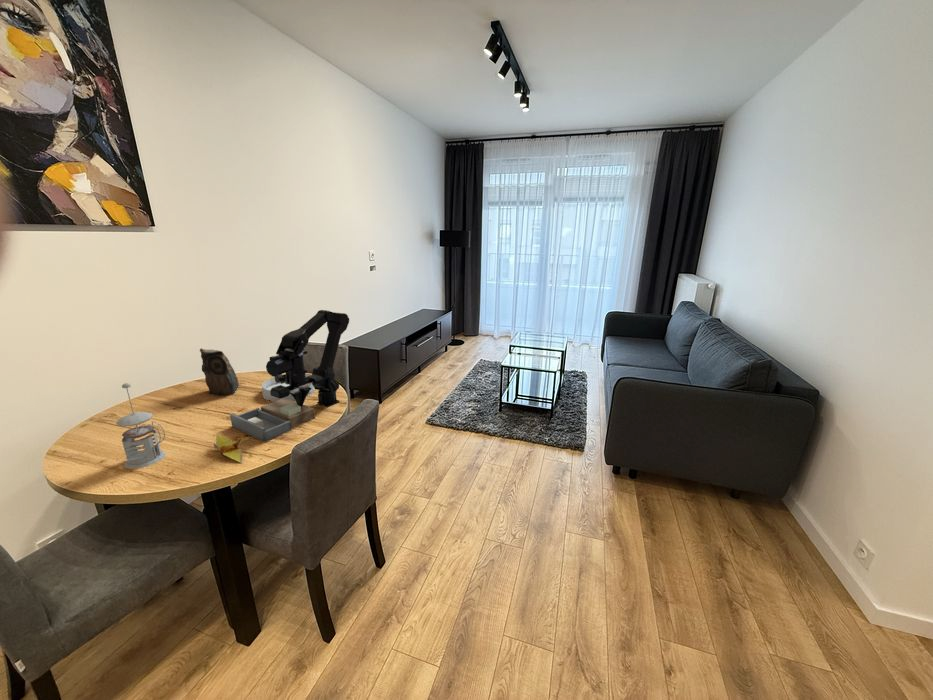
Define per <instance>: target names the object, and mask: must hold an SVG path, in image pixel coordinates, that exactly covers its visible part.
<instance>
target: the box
mask: <svg viewBox="0 0 933 700" xmlns="http://www.w3.org/2000/svg"><path fill="white" fill-rule="evenodd" d="M229 416H230V423H231V427H232V428H234V429H236V430H238V431H240V432H242V433H244V434H246V435H249V436H250V437H253V438H254V439H257V440H259V441H261V442H263V443H267V442H268V441H271V440H273V439H274V438H275V439H276V438H277V437H279V436H281V435H284V434H286V433H288V432H291V431H292V429H293V428H292V429H291V421H286V420H283V419H281V418H279V417H276V416H274V415H271V414H269V413H266V412H264V411H262V410H261V409H260V408H259V407H256V408H254V409H251V410H248V411H246V412H243V413H240V414H238V415H237V414H235V413H230V414H229ZM254 417H256V418H258V419H260V420H263V426H259V425H257V424H255V423H253V422H250V421H248V419H251V418H254Z"/></svg>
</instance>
